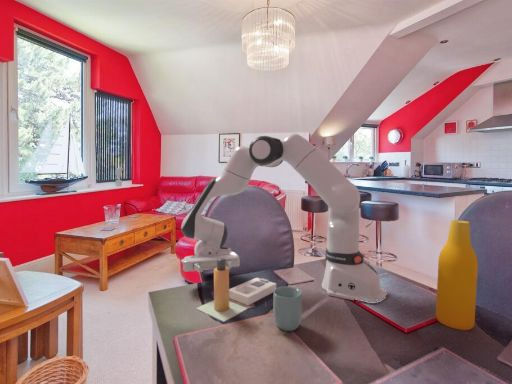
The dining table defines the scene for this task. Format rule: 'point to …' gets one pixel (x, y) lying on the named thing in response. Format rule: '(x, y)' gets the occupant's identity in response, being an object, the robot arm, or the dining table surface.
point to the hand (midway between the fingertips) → (214, 268)
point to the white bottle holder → (252, 290)
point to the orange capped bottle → (221, 286)
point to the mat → (225, 315)
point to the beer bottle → (457, 279)
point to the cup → (287, 307)
